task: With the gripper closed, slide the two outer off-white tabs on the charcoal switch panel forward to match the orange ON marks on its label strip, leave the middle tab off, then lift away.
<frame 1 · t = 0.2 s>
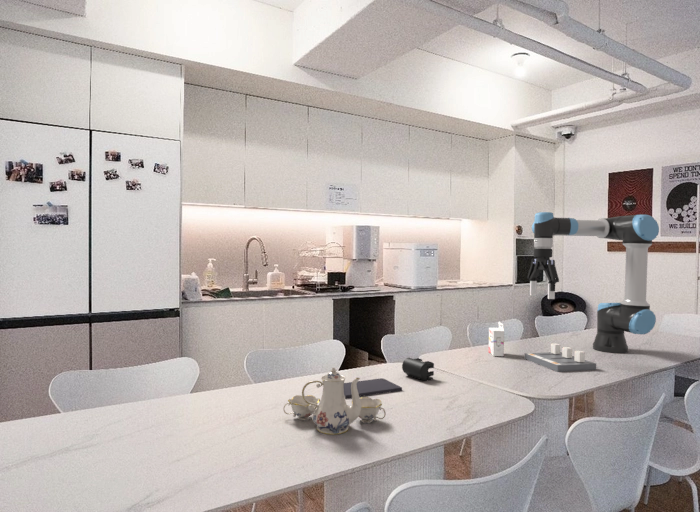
hand: (541, 297, 207), 27 cm above the table, tool pointing down, fingers open, 13 cm apart
ink cartridge box: (495, 355, 218), on the table
tab 3: (579, 356, 195), point 5 cm above the table, slide at 0.0 cm
tab 1: (555, 348, 209), point 5 cm above the table, slide at 0.0 cm
chinaware: (333, 425, 129), on the table
notebook: (365, 391, 161), on the table
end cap: (417, 378, 176), on the table
tab 2: (567, 352, 202), point 5 cm above the table, slide at 0.0 cm
switch panel: (558, 364, 201), on the table
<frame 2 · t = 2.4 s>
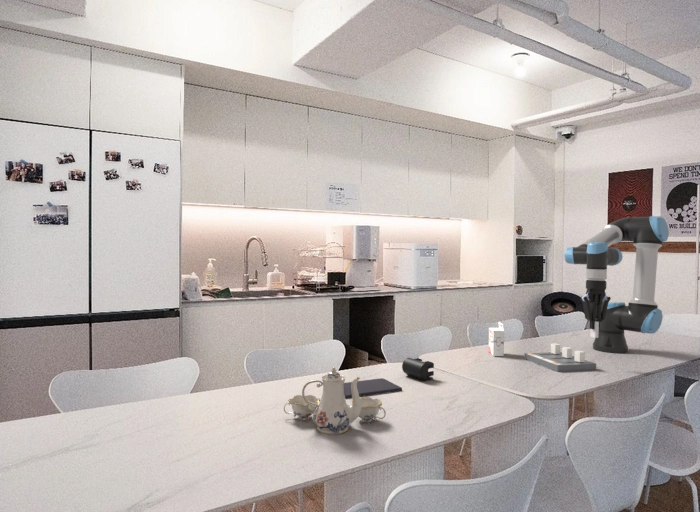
hand: (594, 337, 196), 13 cm above the table, tool pointing down, fingers closed
nothing on the table moved.
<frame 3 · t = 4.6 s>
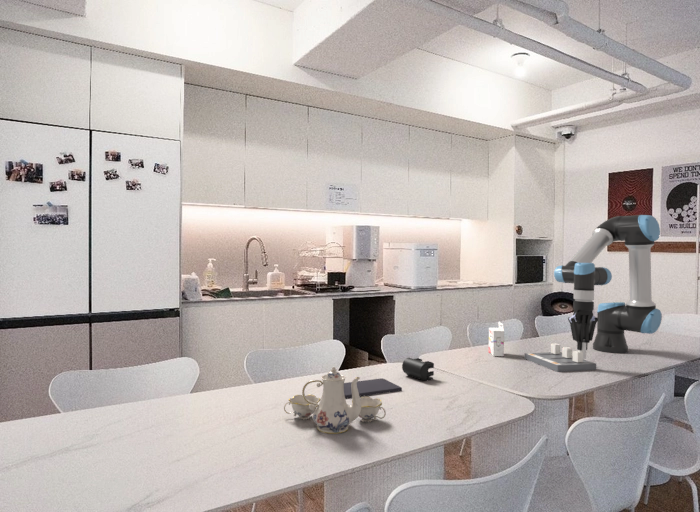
hand: (582, 358, 195), 4 cm above the table, tool pointing down, fingers closed
tab 3: (577, 356, 195), point 5 cm above the table, slide at 0.9 cm, touching gripper
everything else where it was.
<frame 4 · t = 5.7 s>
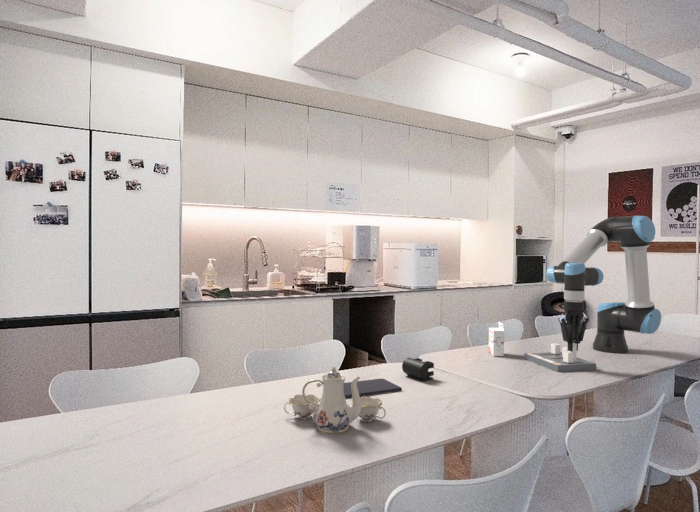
hand: (572, 358, 194), 4 cm above the table, tool pointing down, fingers closed
tab 3: (568, 356, 194), point 5 cm above the table, slide at 5.4 cm, touching gripper
everything else where it was.
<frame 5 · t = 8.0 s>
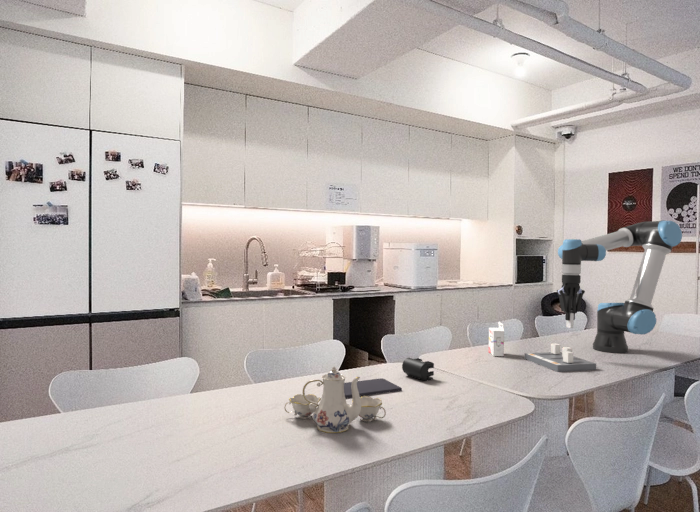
hand: (569, 327, 211), 14 cm above the table, tool pointing down, fingers closed
tab 3: (568, 356, 194), point 5 cm above the table, slide at 5.4 cm
everything else where it was.
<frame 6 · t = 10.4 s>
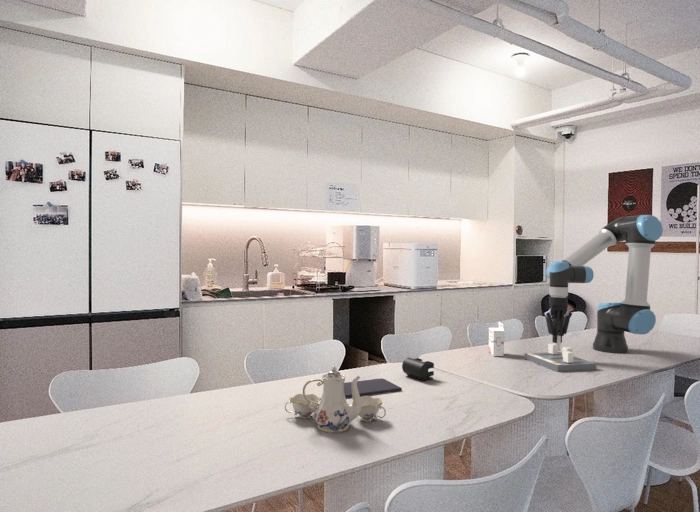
hand: (556, 350, 210), 4 cm above the table, tool pointing down, fingers closed
tab 1: (553, 348, 209), point 5 cm above the table, slide at 1.3 cm, touching gripper
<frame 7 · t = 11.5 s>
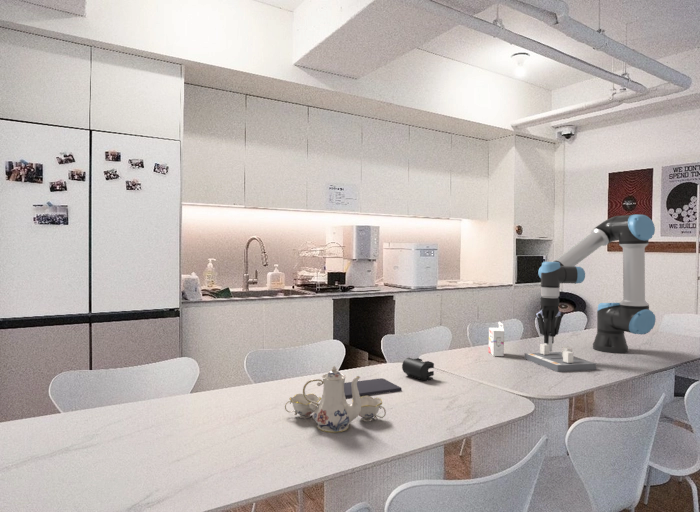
hand: (548, 350, 209), 4 cm above the table, tool pointing down, fingers closed
tab 1: (544, 349, 208), point 5 cm above the table, slide at 5.4 cm, touching gripper
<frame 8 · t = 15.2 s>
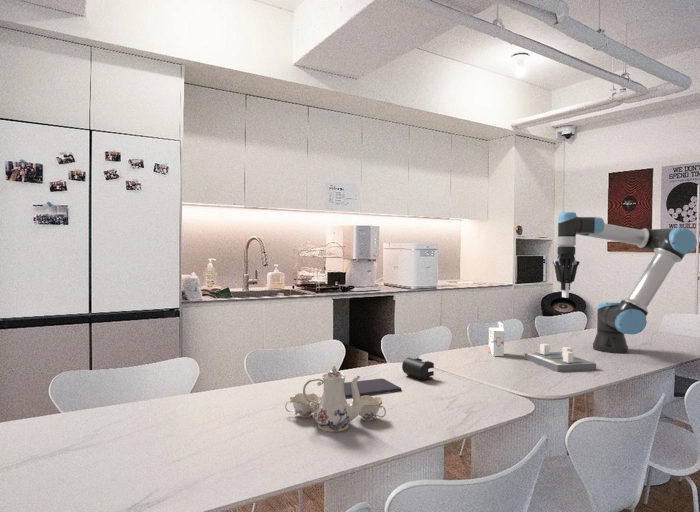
hand: (565, 297, 220), 26 cm above the table, tool pointing down, fingers closed
tab 1: (544, 349, 208), point 5 cm above the table, slide at 5.5 cm
at the end: tab 1 slide at 5.5 cm; tab 3 slide at 5.4 cm; tab 2 slide at 0.0 cm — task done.
